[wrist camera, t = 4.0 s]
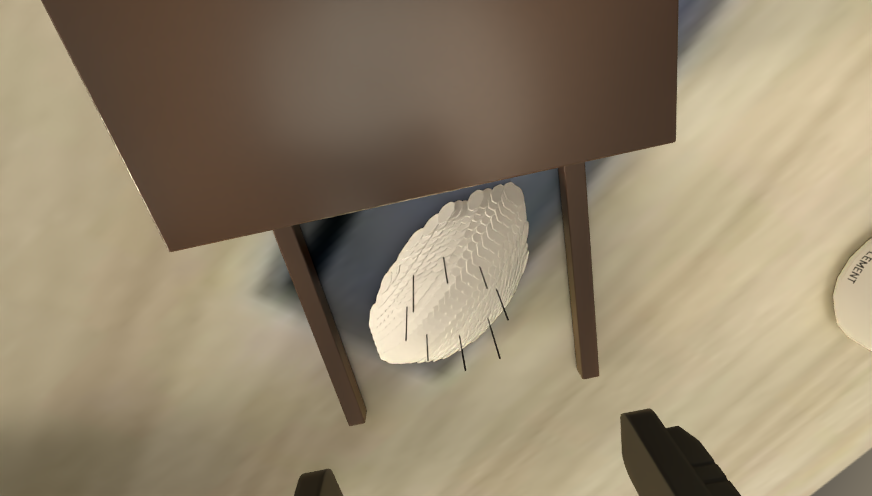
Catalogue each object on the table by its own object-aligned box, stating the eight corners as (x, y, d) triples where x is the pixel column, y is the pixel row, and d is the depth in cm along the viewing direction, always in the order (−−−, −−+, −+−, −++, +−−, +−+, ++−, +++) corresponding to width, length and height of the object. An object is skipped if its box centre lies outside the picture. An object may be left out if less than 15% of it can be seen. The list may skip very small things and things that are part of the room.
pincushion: (429, 376, 25) (434, 457, 20) (339, 330, 23) (317, 405, 18) (561, 215, 21) (609, 263, 16) (463, 148, 20) (482, 176, 14)
